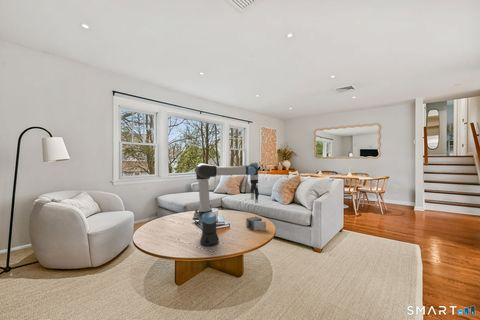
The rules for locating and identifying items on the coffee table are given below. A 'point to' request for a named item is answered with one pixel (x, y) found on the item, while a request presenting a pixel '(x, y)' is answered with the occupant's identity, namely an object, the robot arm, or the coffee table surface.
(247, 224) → the camera body
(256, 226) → the side door
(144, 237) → the coffee table surface
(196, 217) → the sign
